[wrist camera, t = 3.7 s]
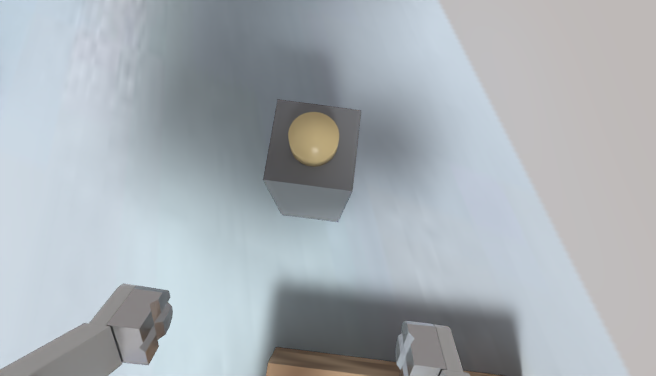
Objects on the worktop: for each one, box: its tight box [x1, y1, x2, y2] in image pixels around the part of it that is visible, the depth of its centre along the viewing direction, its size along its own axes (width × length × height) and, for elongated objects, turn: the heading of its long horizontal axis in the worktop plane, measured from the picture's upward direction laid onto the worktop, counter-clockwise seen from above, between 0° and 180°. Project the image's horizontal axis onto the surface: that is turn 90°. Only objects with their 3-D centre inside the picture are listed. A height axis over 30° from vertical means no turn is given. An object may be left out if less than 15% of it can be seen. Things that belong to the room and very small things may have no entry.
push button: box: [263, 99, 361, 222], centre depth 19 cm, size 4×4×10 cm
